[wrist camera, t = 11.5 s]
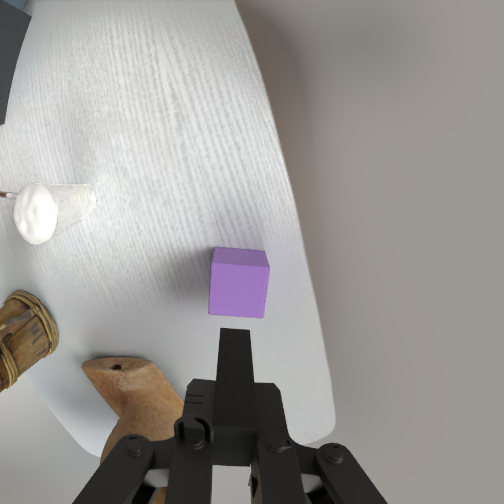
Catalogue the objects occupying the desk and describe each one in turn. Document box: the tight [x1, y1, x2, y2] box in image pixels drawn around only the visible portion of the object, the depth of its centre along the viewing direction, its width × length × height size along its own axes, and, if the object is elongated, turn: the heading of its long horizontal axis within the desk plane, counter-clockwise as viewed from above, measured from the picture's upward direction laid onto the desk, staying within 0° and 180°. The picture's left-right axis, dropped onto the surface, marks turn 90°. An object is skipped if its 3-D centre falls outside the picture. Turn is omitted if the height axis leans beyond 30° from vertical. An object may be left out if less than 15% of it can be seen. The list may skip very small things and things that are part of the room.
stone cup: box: [81, 357, 184, 504], centre depth 24 cm, size 15×12×15 cm
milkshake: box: [0, 183, 97, 245], centre depth 19 cm, size 4×5×10 cm
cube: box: [208, 247, 270, 318], centre depth 25 cm, size 4×4×4 cm
